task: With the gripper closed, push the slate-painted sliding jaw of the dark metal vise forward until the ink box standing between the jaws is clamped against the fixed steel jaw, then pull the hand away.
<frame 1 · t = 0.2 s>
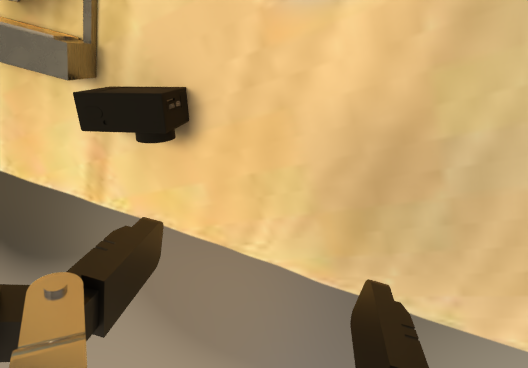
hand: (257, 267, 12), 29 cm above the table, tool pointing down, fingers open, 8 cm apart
digital camera: (150, 108, 41), on the table
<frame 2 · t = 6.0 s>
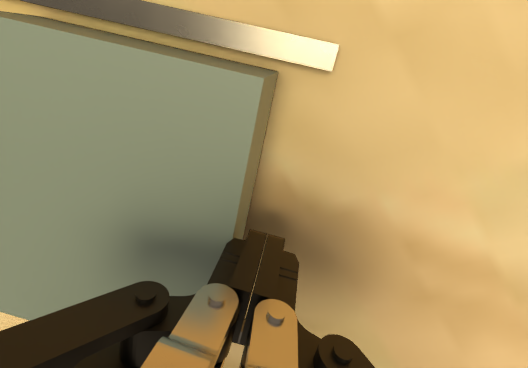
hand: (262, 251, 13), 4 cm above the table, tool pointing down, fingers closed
sliding jaw: (126, 202, 15), point 2 cm above the table, slide at 1.0 cm, touching gripper
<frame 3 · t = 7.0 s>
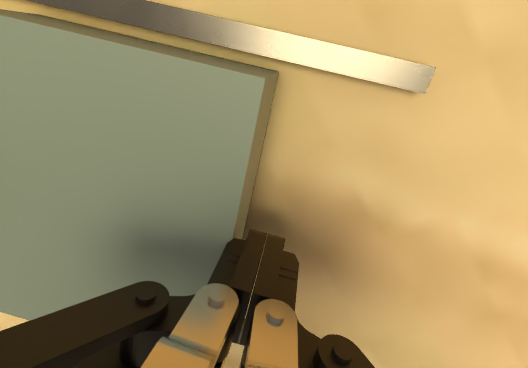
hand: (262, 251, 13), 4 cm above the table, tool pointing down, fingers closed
sliding jaw: (126, 201, 15), point 2 cm above the table, slide at 4.7 cm, touching gripper, ink box
vise: (17, 148, 17), on the table
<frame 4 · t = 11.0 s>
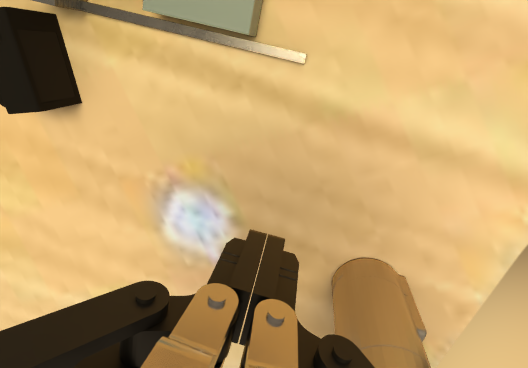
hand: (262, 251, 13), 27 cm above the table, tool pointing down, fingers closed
digital camera: (52, 62, 40), on the table
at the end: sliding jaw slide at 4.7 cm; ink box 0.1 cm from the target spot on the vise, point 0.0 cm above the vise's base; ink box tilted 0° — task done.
